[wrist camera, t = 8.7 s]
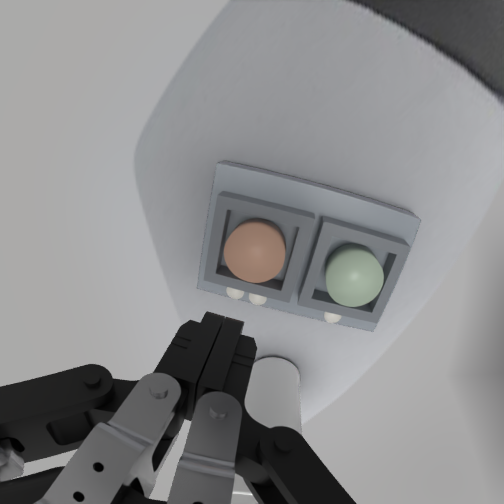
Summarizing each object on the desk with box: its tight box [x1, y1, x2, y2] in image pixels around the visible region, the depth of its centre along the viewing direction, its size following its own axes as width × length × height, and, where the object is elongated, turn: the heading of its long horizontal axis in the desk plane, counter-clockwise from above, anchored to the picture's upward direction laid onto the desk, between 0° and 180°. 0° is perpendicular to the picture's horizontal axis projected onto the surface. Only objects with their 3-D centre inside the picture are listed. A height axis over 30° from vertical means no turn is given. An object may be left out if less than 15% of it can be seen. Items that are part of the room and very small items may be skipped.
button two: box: [224, 218, 286, 283], centre depth 20 cm, size 4×4×2 cm
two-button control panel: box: [197, 161, 421, 332], centre depth 21 cm, size 10×15×4 cm, turn 78°
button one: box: [325, 244, 384, 307], centre depth 20 cm, size 4×4×2 cm
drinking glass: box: [231, 357, 302, 504], centre depth 22 cm, size 7×7×15 cm
